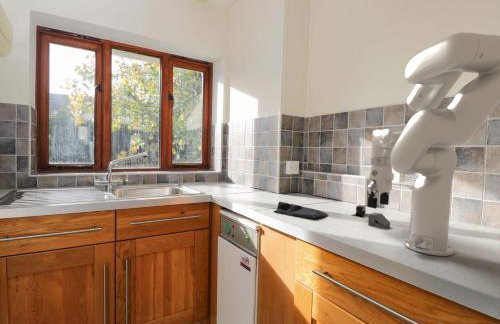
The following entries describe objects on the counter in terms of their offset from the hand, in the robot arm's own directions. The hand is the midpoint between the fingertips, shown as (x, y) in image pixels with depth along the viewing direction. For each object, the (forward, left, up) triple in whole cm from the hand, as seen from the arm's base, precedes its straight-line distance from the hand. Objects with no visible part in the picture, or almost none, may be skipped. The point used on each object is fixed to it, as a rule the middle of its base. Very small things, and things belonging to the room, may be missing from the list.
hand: (378, 205), depth 104 cm
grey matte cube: (-1, -1, -8) cm, 8 cm away
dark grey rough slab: (-10, +30, -8) cm, 33 cm away
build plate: (+11, +13, -8) cm, 19 cm away
